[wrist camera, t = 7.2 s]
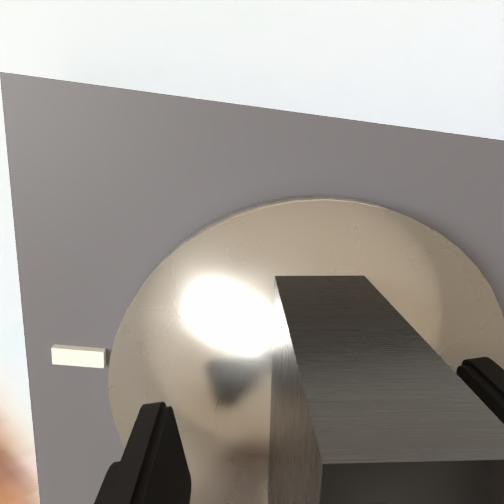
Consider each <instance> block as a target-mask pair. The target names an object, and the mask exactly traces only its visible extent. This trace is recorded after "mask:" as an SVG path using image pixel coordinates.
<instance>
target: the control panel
mask: <svg viewBox="0 0 504 504" xmlns="http://www.w3.org/2000/svg"><path fill="white" fill-rule="evenodd" d="M0 79H1V90H2V100H3V111H4V122H5V132H6V143H7V153H8V164H9V175H10V185H11V196H12V207H13V217H14V228H15V239H16V249H17V260H18V271H19V281H20V292H21V303H22V313H23V324H24V335H25V345H26V356H27V367H28V377H29V388H30V398H31V409H32V420H33V430H34V441H35V452H36V462H37V473H38V484H39V494H40V504H94V502H95V500H96V497H97V495H98V492H99V490H100V487H101V485H102V482H103V480H104V478H105V475H106V473H107V471H108V469H109V467H110V465H111V464H112V463H113V462H118V461H120V460H121V458H122V455H123V453H124V450H125V447H124V445H123V443H122V441H121V438H120V436H119V433H118V431H117V428H116V426H115V423H114V420H113V415H112V411H111V407H110V402H109V388H108V374H109V363H110V355H111V352H112V348H113V344H114V340H115V336H116V333H117V331H118V328H119V326H120V324H121V321H122V319H123V317H124V315H125V312H126V310H127V309H128V307H129V306H130V304H131V302H132V301H133V299H134V298H135V296H136V294H137V293H138V291H139V290H140V288H141V287H142V285H143V284H144V282H145V281H146V279H147V278H148V277H149V275H150V274H151V273H152V272H153V270H154V269H155V268H156V267H157V266H158V265H159V263H160V262H161V261H162V260H163V259H164V258H165V256H166V255H167V254H169V253H170V252H171V251H172V250H173V249H174V248H175V247H176V246H178V245H179V244H180V243H181V242H182V241H183V240H184V239H186V238H187V237H188V236H190V235H191V234H193V233H194V232H196V231H198V230H199V229H201V228H202V227H204V226H205V225H207V224H208V223H210V222H212V221H214V220H216V219H218V218H220V217H222V216H224V215H226V214H228V213H230V212H233V211H235V210H238V209H241V208H244V207H247V206H250V205H253V204H256V203H259V202H263V201H268V200H273V199H279V198H284V197H290V196H306V195H325V196H340V197H348V198H352V199H357V200H362V201H367V202H371V203H374V204H377V205H380V206H382V207H385V208H388V209H391V210H394V211H396V212H399V213H401V214H403V215H405V216H408V217H410V218H412V219H414V220H416V221H418V222H420V223H422V224H424V225H426V226H428V227H429V228H431V229H433V230H435V231H437V232H439V233H440V234H441V235H443V236H444V237H445V238H446V239H448V240H449V241H450V242H452V243H453V244H454V245H456V246H457V247H458V248H460V249H461V250H462V251H463V252H464V253H465V255H466V256H467V257H468V258H469V259H470V260H471V261H472V262H473V263H474V264H475V265H476V266H477V267H478V269H479V270H480V272H481V273H482V274H483V276H484V277H485V279H486V280H487V282H488V283H489V285H490V286H491V288H492V290H493V292H494V294H495V297H496V299H497V301H498V303H499V305H500V307H501V310H502V314H503V318H504V141H503V140H496V139H488V138H481V137H474V136H466V135H459V134H452V133H444V132H437V131H430V130H422V129H415V128H408V127H400V126H393V125H386V124H378V123H371V122H364V121H356V120H349V119H342V118H334V117H327V116H319V115H312V114H305V113H297V112H290V111H283V110H275V109H268V108H261V107H253V106H246V105H239V104H231V103H224V102H217V101H209V100H202V99H195V98H187V97H180V96H173V95H165V94H158V93H151V92H143V91H136V90H129V89H121V88H114V87H107V86H99V85H92V84H85V83H77V82H70V81H63V80H55V79H48V78H41V77H33V76H26V75H19V74H11V73H4V72H0Z"/></svg>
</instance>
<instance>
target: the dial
mask: <svg viewBox="0 0 504 504" xmlns="http://www.w3.org/2000/svg"><path fill="white" fill-rule="evenodd" d="M479 357H489V358H490V359H492V360H493V361H494V362H495V363H496V364H498V365H499V366H500V367H501V368H502V369H503V370H504V318H503V314H502V310H501V307H500V305H499V303H498V301H497V299H496V297H495V294H494V292H493V290H492V288H491V286H490V285H489V283H488V282H487V280H486V279H485V277H484V276H483V274H482V273H481V272H480V270H479V269H478V267H477V266H476V265H475V264H474V263H473V262H472V261H471V260H470V259H469V258H468V257H467V256H466V255H465V253H464V252H463V251H462V250H461V249H460V248H458V247H457V246H456V245H454V244H453V243H452V242H450V241H449V240H448V239H446V238H445V237H444V236H443V235H441V234H440V233H439V232H437V231H435V230H433V229H431V228H429V227H428V226H426V225H424V224H422V223H420V222H418V221H416V220H414V219H412V218H410V217H408V216H405V215H403V214H401V213H399V212H396V211H394V210H391V209H388V208H385V207H382V206H380V205H377V204H374V203H371V202H367V201H362V200H357V199H352V198H348V197H340V196H325V195H306V196H290V197H284V198H279V199H273V200H268V201H263V202H259V203H256V204H253V205H250V206H247V207H244V208H241V209H238V210H235V211H233V212H230V213H228V214H226V215H224V216H222V217H220V218H218V219H216V220H214V221H212V222H210V223H208V224H207V225H205V226H204V227H202V228H201V229H199V230H198V231H196V232H194V233H193V234H191V235H190V236H188V237H187V238H186V239H184V240H183V241H182V242H181V243H180V244H179V245H178V246H176V247H175V248H174V249H173V250H172V251H171V252H170V253H169V254H167V255H166V256H165V258H164V259H163V260H162V261H161V262H160V263H159V265H158V266H157V267H156V268H155V269H154V270H153V272H152V273H151V274H150V275H149V277H148V278H147V279H146V281H145V282H144V284H143V285H142V287H141V288H140V290H139V291H138V293H137V294H136V296H135V298H134V299H133V301H132V302H131V304H130V306H129V307H128V309H127V310H126V312H125V315H124V317H123V319H122V321H121V324H120V326H119V328H118V331H117V333H116V336H115V340H114V344H113V348H112V352H111V355H110V363H109V374H108V388H109V402H110V407H111V411H112V415H113V420H114V423H115V426H116V428H117V431H118V433H119V436H120V438H121V441H122V443H123V445H124V447H126V445H127V442H128V439H129V437H130V434H131V431H132V429H133V426H134V424H135V421H136V418H137V416H138V413H139V410H140V408H141V406H142V405H143V404H148V403H156V402H164V403H165V404H166V407H168V406H171V407H172V408H173V412H174V415H175V419H176V423H177V427H178V430H179V434H180V438H181V442H182V445H183V449H184V453H185V457H186V460H187V464H188V468H189V472H190V475H191V484H192V487H191V497H190V504H504V424H503V423H502V422H501V421H500V420H499V419H498V417H497V416H496V415H495V414H494V413H493V412H492V411H491V410H490V409H489V408H488V407H487V406H486V405H485V404H484V403H483V402H482V400H481V399H480V398H479V397H478V396H477V395H476V394H475V393H474V392H473V391H472V390H471V389H470V388H469V387H468V386H467V384H466V383H465V382H464V381H463V380H462V379H461V378H460V377H459V376H458V375H457V374H456V372H457V367H458V366H461V365H462V362H463V360H465V359H472V358H479Z"/></svg>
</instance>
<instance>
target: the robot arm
mask: <svg viewBox="0 0 504 504" xmlns="http://www.w3.org/2000/svg"><path fill="white" fill-rule="evenodd" d="M456 374H457V375H458V376H459V377H460V378H461V379H462V380H463V381H464V382H465V383H466V384H467V386H468V387H469V388H470V389H471V390H472V391H473V392H474V393H475V394H476V395H477V396H478V397H479V398H480V399H481V400H482V402H483V403H484V404H485V405H486V406H487V407H488V408H489V409H490V410H491V411H492V412H493V413H494V414H495V415H496V416H497V417H498V419H499V420H500V421H501V422H502V423H503V424H504V370H503V369H502V368H501V367H500V366H499V365H498V364H496V363H495V362H494V361H493V360H492V359H490V358H489V357H479V358H472V359H465V360H463V362H462V365H461V366H458V367H457V372H456ZM191 487H192V484H191V475H190V472H189V468H188V464H187V460H186V457H185V453H184V449H183V445H182V442H181V438H180V434H179V430H178V427H177V423H176V419H175V415H174V412H173V408H172V407H171V406H168V407H166V404H165V403H164V402H156V403H148V404H143V405H142V406H141V408H140V410H139V413H138V416H137V418H136V421H135V424H134V426H133V429H132V431H131V434H130V437H129V439H128V442H127V445H126V447H125V450H124V453H123V455H122V458H121V460H120V461H118V462H113V463H112V464H111V465H110V467H109V469H108V471H107V473H106V475H105V478H104V480H103V482H102V485H101V487H100V490H99V492H98V495H97V497H96V500H95V502H94V504H190V497H191Z"/></svg>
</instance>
